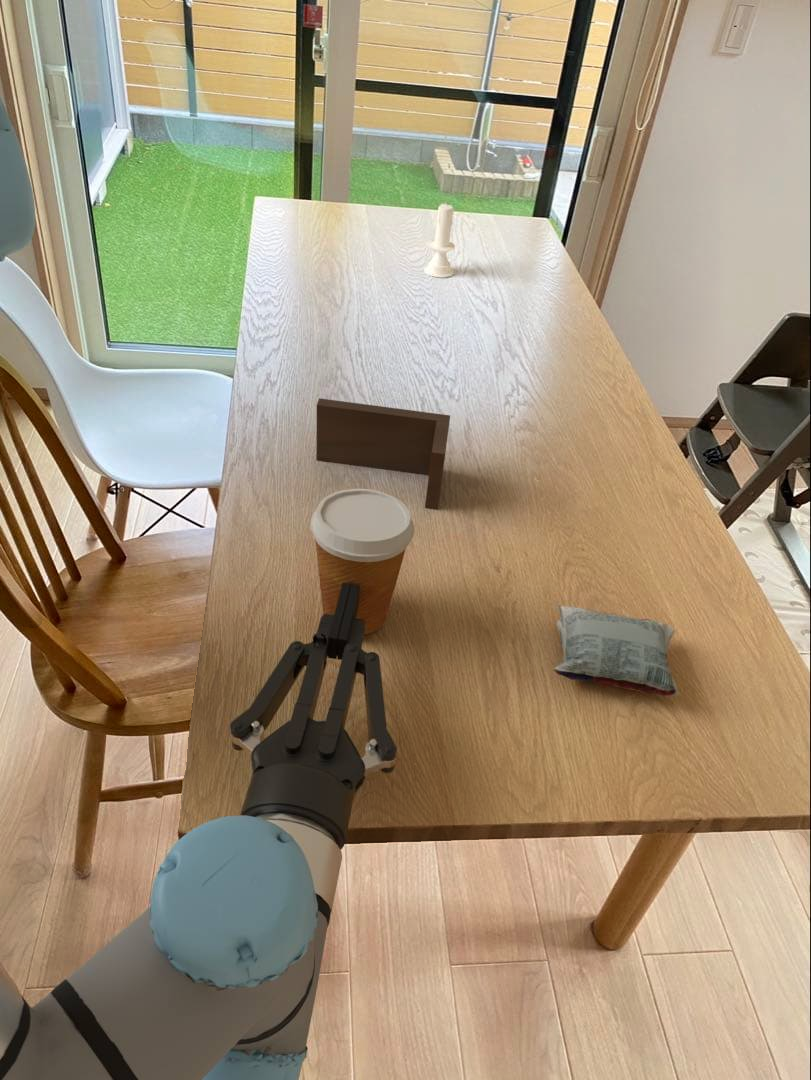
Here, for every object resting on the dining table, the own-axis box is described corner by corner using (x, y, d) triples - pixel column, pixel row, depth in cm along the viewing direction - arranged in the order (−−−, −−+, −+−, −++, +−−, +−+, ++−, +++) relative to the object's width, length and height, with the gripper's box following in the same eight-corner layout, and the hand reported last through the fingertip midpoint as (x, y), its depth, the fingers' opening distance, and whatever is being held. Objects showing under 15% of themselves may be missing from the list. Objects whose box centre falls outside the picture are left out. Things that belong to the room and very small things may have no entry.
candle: (418, 267, 141) (425, 198, 133) (445, 264, 143) (453, 196, 135) (432, 279, 138) (439, 210, 130) (458, 276, 140) (467, 207, 131)
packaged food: (551, 619, 80) (561, 586, 76) (668, 640, 79) (684, 608, 76) (547, 688, 73) (559, 655, 70) (675, 712, 73) (692, 680, 69)
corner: (437, 509, 91) (445, 454, 86) (305, 491, 92) (305, 435, 86) (442, 469, 97) (450, 415, 92) (318, 453, 98) (319, 398, 92)
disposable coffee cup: (288, 604, 78) (290, 503, 71) (363, 572, 83) (372, 476, 76) (344, 661, 72) (353, 557, 65) (422, 623, 78) (437, 523, 71)
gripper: (201, 850, 56) (280, 611, 74) (381, 879, 56) (418, 632, 73) (190, 797, 51) (278, 554, 69) (388, 828, 51) (426, 575, 68)
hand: (350, 594), depth 71 cm, fingers closed
